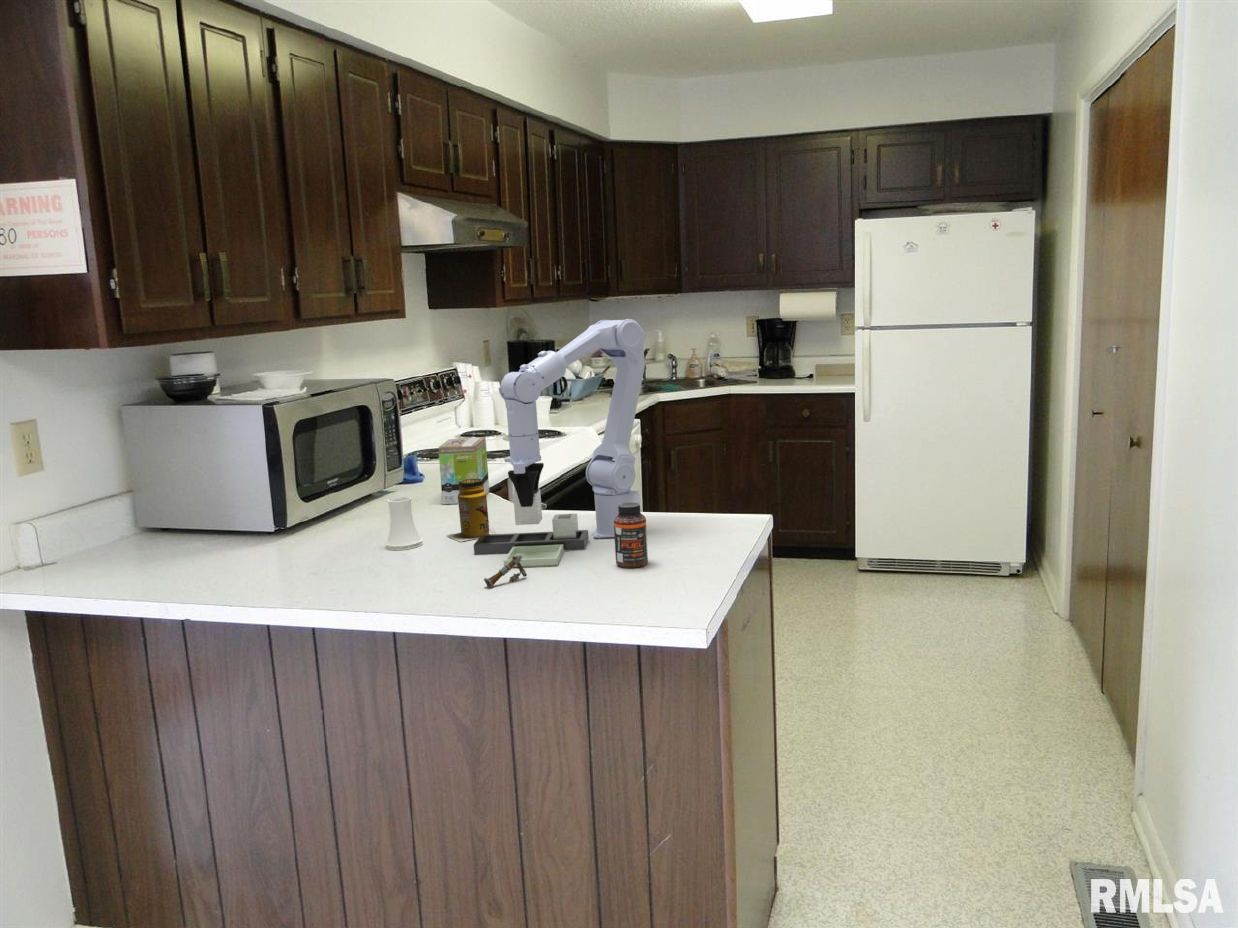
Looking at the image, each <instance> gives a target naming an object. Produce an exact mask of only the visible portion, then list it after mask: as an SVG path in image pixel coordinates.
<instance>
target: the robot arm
mask: <svg viewBox="0 0 1238 928" xmlns="http://www.w3.org/2000/svg"><path fill="white" fill-rule="evenodd" d="M645 341H646V333H645V331H644V330H643V328H642V327H641V325H640V323H638V321H636V320H634V319H631V318H626V319H614V320H613V319H611V320H610V319H601V320H598V321H597V322H596V323H595V324H592V325H589V326H588V328H587V329H586V330H584V331H583V332H581V334H579V335H578V336H577V337H575V338H574V339H573V340H572V341H570V342H568V343H567V344H566V345H564V346H563V347H562V348H561V349H559V350H558V351H554V350H547V351H546V350H542V351H540V352H539V353H537V356H538V357H536V358H534V359H533V360H532V361H530V362H529V363H527V364H525V363H524V364H521V365H520V366H519V368H520V369H519V370H518V371H511V372H508V373H506V374H505V375H504V377H503V378H502V380H501V383H500V387H498V392H499V395H500V397H501V398H502V399H503V401H504V403H505V409H506V417H507V418H506V419H507V429H508V432H507V433H508V443H509V455H510V456H507V457H505V458H504V463H510V464H511V465H512V466H513V469H512V470H508V472H507V476H508V478H509V479H510V481H511V482H512V485H513V486H514V489H515V492H517V495H518V499H519V502H520V505H521V507H532V504H533V495H534V489H539V485H540V484H539V483H540V478H541V476H542V475H541V473H542V472H543V469H544V465H545V463H543V462H540V461H542V455H541V453H540V450H541V449H540V439H539V438H540V437H539V436H540V435H539V424H538V413H537V412H538V410H537V400H538V399H539V398H540V396H541V394H542V392H543V390H545V389H546V388H547V387H549V386H551V385H552V384H553V383H555V382H557V381H558V380H561V378H562V377H564V376H565V374H566V371H567V367H568V366H569V365H571V364H573V363H575V362H576V361H578V360H580V359H581V358H583V357H585V356H586V355H588V354H590V353H591V352H593V351H595V350H596V349H598V350H599V351H600V352H601V353H602V354H604V355H605V356H606V357H608V358H609V359H610V360H611V361H612V363H613V365H614V366H615V368H616V373H615V378H614V384H613V387H612V393H611V398H610V402H609V403H610V404H609V408H608V412H607V413H608V414H607V418H606V422H605V428H604V433H603V438H602V442H601V444H599V445H598V446H597V447H596V448H595V449H593V453H592V457H591V460H590V461H589V463H588V465H586V469H585V477H586V481H587V482H588V484H590V486H592V491H593V493H594V495H593V496H594V506H595V507H594V509H595V511H594V512H595V522H596V523H595V524H596V528H595V531H594V533H593V538H594V539H602V538H605V539H607V538H608V539H609V538H615V535H614V519H615V517H616V516H618V514H619V512H618V505H619V504H621V503H627V502H635V503H639V504H640V505H641V501H640V492H639V490H631V488H632V487H633V486H634V483H635V480H636V469H635V461H636V458H635V455H634V454H633V453H632V451H631V449H630V442H631V437H632V433H633V427H634V424H635V423H634V422H635V417H636V411H637V406H638V402H639V397H640V393H641V387H642V383H643V382H642V381H643V378H644V377H643V376H644V372H645V367H646V360H645V358H646V357H645V352H644V346H645Z"/></svg>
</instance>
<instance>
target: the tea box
mask: <svg viewBox="0 0 1238 928" xmlns="http://www.w3.org/2000/svg"><path fill="white" fill-rule="evenodd" d="M487 455H488V453H487V441H486V437H484V436H483V437H464V438H463V437H462V438H451V439H450V438H449V439H447V440H446V441H445V442H444V443H442V444H441V445H440V446H438V460H439V473H440V475H439V476H440V486H441V487H440V488H441V500H442V505H459V504H458V494H459V493H460V491H459V485H458V484H459V482H460V481H462V480H466V479H482V480H483V485H484V491H485V492H486V495H487V494H488V493H489V492H490V483H489V482H490V481H489V468H488V456H487Z"/></svg>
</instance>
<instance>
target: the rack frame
mask: <svg viewBox="0 0 1238 928" xmlns="http://www.w3.org/2000/svg"><path fill="white" fill-rule="evenodd" d="M578 532H579V539H563V540H554V537H553V531H539V532H537V531H534V532H515V533H514V532H513V533H495V534H490V535H481V536H480V538H478V539H476V541H475V543H474V544H473V552H474V553H473V554H474V555H497V554H508V553H509V552H510V550H511V549H512V547H519V546H541V545H563V546H564V550H566V551H583V550H586V547H587V544H588V543H589V540H588V539H589V530H588V529H582V530H581V529H578Z"/></svg>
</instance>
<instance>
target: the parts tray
mask: <svg viewBox="0 0 1238 928" xmlns="http://www.w3.org/2000/svg"><path fill="white" fill-rule="evenodd" d="M564 552H565V551H564V546H563V545H541V546H519V547H512V549H511V550H510V552H509V553H507V555H506V557H505V558H504V559H503V567H505V565H507V564H509V563H510V562H511V561H512V559H513V558H512V557H514V556H515V557H516V555H517V556H519V555H521V556H522V559H521V560H522V561H520V564H521V565H522V567H523V569H524V568H525V569H526V568H541V567H542V568H543V567H546V568H547V567H559V564H560V562H561V559H562V557H563V555H564ZM514 567H518V566H517V565H514ZM514 567H512V568H511V569H515V568H514Z"/></svg>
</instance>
